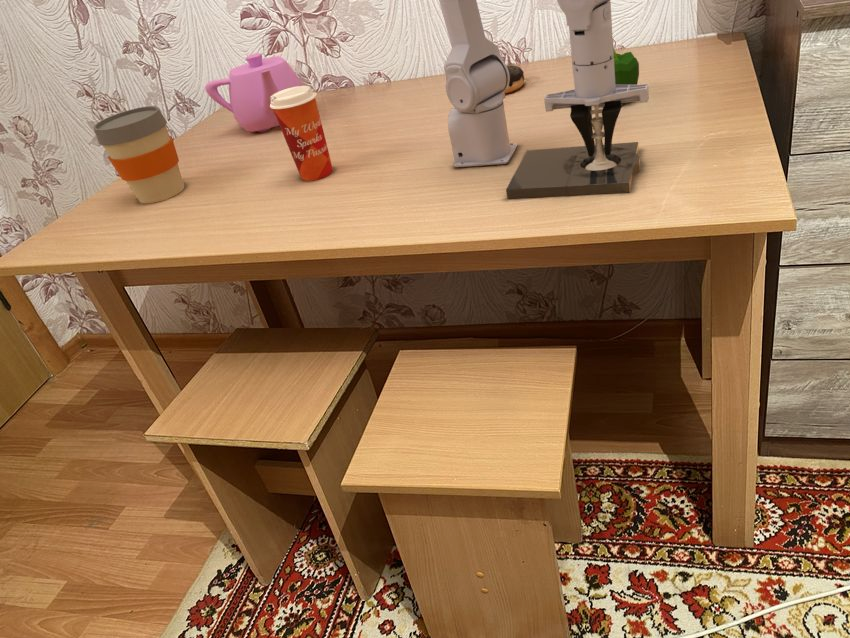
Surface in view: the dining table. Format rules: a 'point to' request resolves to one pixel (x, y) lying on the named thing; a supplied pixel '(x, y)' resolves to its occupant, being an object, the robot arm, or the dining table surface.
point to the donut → (515, 78)
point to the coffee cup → (303, 131)
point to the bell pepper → (626, 69)
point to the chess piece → (599, 144)
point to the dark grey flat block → (573, 172)
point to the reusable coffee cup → (142, 152)
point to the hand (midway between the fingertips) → (599, 153)
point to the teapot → (255, 90)
